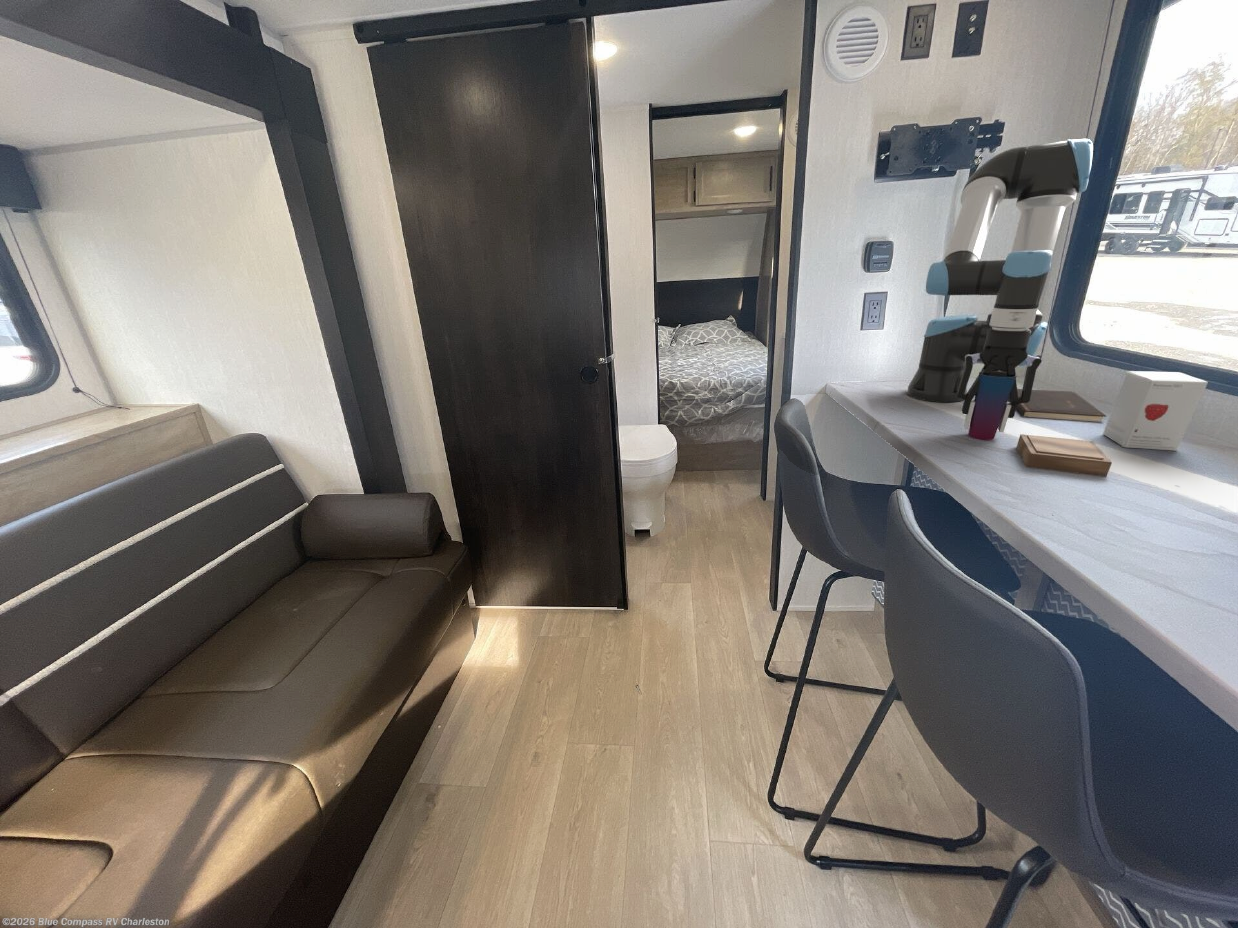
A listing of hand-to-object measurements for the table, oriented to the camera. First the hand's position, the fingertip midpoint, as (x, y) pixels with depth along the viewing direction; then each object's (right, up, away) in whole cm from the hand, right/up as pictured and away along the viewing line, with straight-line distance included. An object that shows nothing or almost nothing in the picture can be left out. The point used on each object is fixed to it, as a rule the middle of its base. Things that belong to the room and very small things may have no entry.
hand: (983, 428), depth 112 cm
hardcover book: (+32, +7, +18) cm, 37 cm away
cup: (0, -2, +1) cm, 2 cm away
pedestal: (+5, -8, -14) cm, 16 cm away
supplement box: (+29, -4, -7) cm, 30 cm away
